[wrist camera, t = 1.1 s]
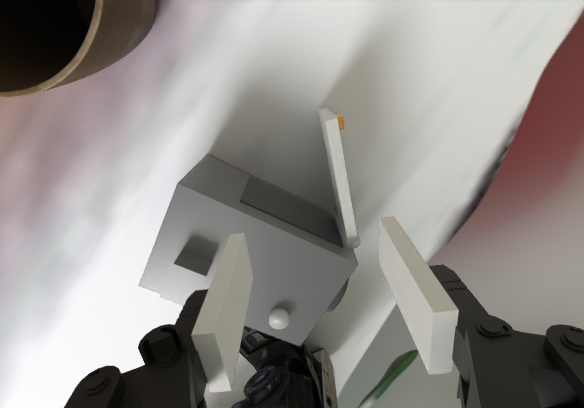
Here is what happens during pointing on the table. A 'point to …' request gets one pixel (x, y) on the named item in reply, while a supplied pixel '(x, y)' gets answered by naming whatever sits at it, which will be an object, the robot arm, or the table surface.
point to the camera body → (252, 248)
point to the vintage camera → (285, 374)
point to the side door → (339, 174)
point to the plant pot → (65, 40)
